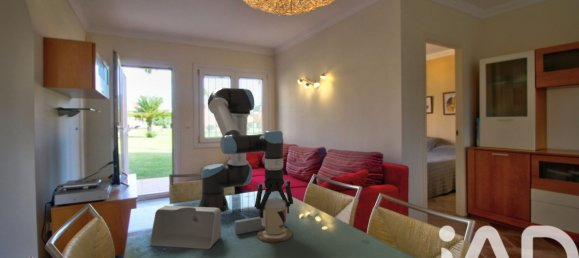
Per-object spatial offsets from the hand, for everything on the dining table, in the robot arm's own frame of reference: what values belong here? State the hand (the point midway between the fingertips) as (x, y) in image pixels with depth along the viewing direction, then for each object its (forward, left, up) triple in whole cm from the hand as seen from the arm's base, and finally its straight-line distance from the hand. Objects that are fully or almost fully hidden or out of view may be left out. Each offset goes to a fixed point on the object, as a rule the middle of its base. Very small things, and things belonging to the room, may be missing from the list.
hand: (274, 223), depth 113 cm
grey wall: (-9, -3, -5) cm, 11 cm away
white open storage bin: (-13, -31, -5) cm, 34 cm away
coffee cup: (0, 0, -3) cm, 3 cm away
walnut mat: (0, 0, -5) cm, 5 cm away
